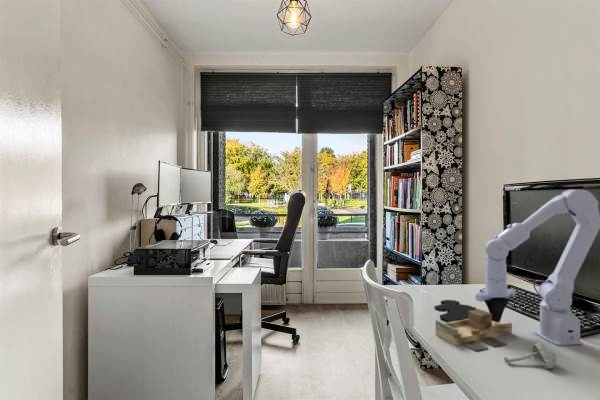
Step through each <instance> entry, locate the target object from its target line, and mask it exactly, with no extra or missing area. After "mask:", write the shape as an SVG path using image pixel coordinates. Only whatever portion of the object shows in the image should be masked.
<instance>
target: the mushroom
mask: <svg viewBox="0 0 600 400" xmlns="http://www.w3.org/2000/svg"><path fill="white" fill-rule="evenodd" d="M556 356H557V355H556V353H555V352H554V351H553V350H549V349H548V348H546V347H545V346H544V345H543V344H541V343H534V345H533V346H532V352H531V353H529V354H525V355H522V356H518V357H511V358H510V357H507V356H505V357H503V359H504V362H505V364H508V365H509V364H511V363H514V362H515V363H516V362H520V361H525V360H530V361H533V362H537V363H539V365H540V364H541V363H542V364H543V365H544V366H542V367H543V368H544V369H547V370H551V369H553V368H554V367H555V363H556V362H557V358H556Z"/></svg>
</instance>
